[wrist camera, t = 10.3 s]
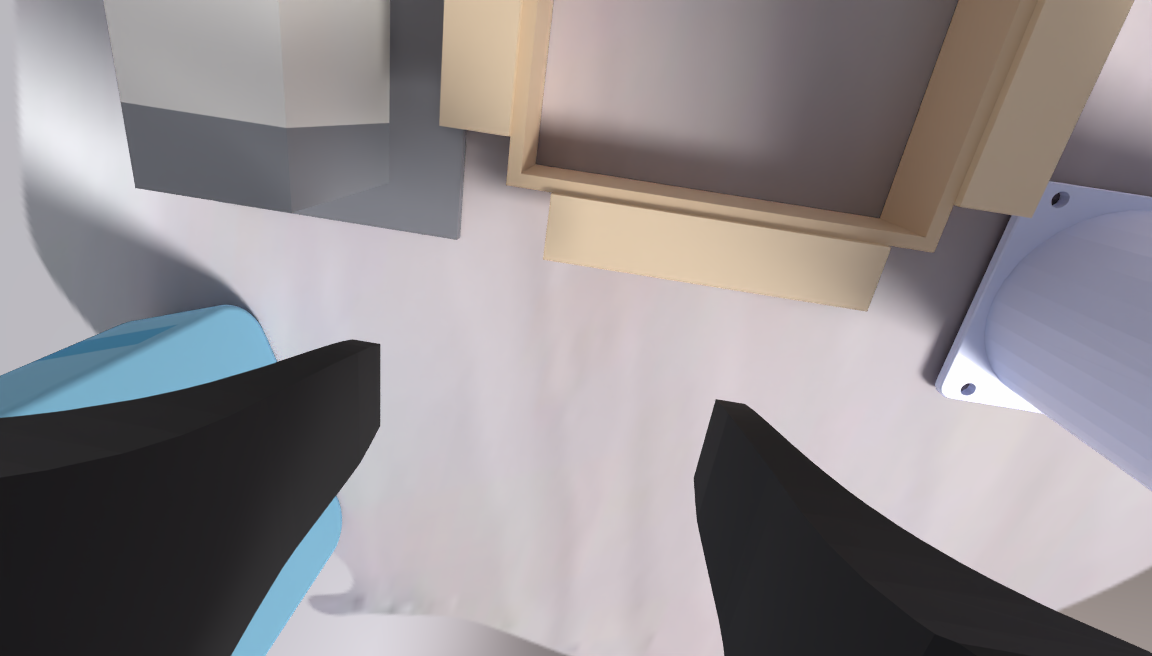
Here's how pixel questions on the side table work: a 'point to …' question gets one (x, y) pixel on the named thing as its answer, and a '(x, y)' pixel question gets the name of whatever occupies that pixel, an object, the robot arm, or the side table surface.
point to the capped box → (254, 97)
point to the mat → (412, 137)
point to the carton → (784, 231)
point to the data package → (164, 364)
